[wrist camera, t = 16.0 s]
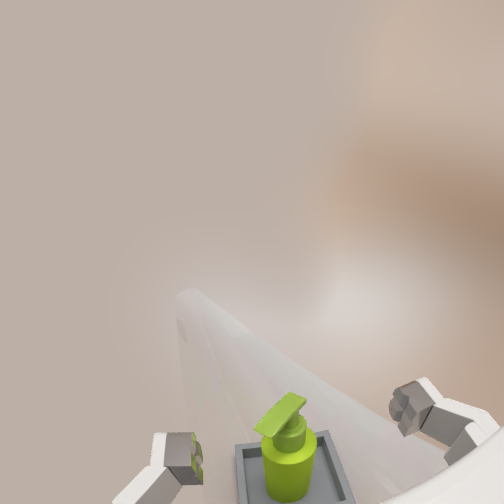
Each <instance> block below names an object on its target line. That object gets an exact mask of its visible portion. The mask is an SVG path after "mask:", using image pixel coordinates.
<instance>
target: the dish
mask: <svg viewBox="0 0 504 504" xmlns="http://www.w3.org/2000/svg"><path fill="white" fill-rule="evenodd" d="M314 434H315V436H316V439H317V447H316V453H315V458H314V464H313V469H312V475H311V480H310V485H309V489H308V492H307V494H306V495H305V496H304V497H303V498H302V499H300V500H298V501H296V502H292V503H281V502H278V501H275V500H274V499H272V498H271V497H270V496H269V494H268V493H267V489H266V481H265V473H264V465H263V458H262V450H261V442H257V443H248V444H237V445H235V454H236V468H237V481H238V493H239V504H356V502H355V499H354V496H353V494H352V491H351V488H350V486H349V483H348V480H347V478H346V475H345V473H344V470H343V467H342V465H341V462H340V459H339V457H338V454H337V452H336V449H335V446H334V444H333V441H332V439H331V436H330V433H329V431H328V430H325V431H321V432H316V433H314Z"/></svg>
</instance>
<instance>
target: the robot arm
mask: <svg viewBox="0 0 504 504" xmlns="http://www.w3.org/2000/svg"><path fill="white" fill-rule="evenodd" d="M393 396H394V398H393V399H392V400H391V401H390V404H389V412H390V415H391V417H392V418H393V420H395V421H397V422H398V428H399V430H400V431H401V433H402V435H403V436H404V437H406V436H408V435H410V434H412V433H415V432H417V431H419V430H420V431H421V432H423V433H424V434H426V435H428V436H430V437H432V438H434V439H436V440H437V441H440V442H441V443H443V444H445V445H447V446H449V447H450V448H449V450H448V451H447V452H446V453H445V455H444V458H445V460H446V462H447V463H448V465H449V467H447V468H446V469H444V470H443V471H441V472H439V473H438V474H436V475H434V476H433V477H431V478H429V479H427V480H426V481H424V482H422V483H420V484H418V485H416V486H414V487H413V488H411V489H409V490H407V491H405V492H403V493H400V494H398V495H396V496H394V497H392V498H390V499H387V500H385V501H383V502H380V503H378V504H504V425H503V426H502V427H501V428H500V427H499V425H498V424H497V423H496V422H495V421H494V419H493V418H492V417H491V416H490V415H489V414H488V412H486V411H485V410H482V409H479V408H475V407H473V406H469V405H467V404H464V403H461V402H457V401H454V400H452V399H449V398H446V399H444V398H443V396H442V395H441V394H440V393H439V392H438V391H437V389H436V388H435V387H434V386H433V385H432V383H431V382H430V381H429V380H428V379H427V378H426V377H422V378H420V379H418V380H415V381H412V382H410V383H408V384H406V385H403V386H401V387H398V388H397V389H395V390H394V392H393ZM202 463H203V456H202V450H201V446H200V444H199V442H197V441H196V435H195V434H194V432H185V433H184V432H183V433H155V435H154V437H153V445H152V453H151V460H150V466H146V467H145V468H144V469H143V470H142V471H141V472H140V473H139V474H138V475H137V476H136V478H134V480H132V481H131V482H130V483H129V484H128V485H127V486H126V488H124V490H123V491H122V492H121V493H119V495H117V497H115V498H114V499H113V502H112V504H171V502H172V501H173V499H174V498H175V497H176V495H177V494H178V492H179V491H180V489H181V488H182V485H203V470H202V469H201V467H200V465H201V464H202Z"/></svg>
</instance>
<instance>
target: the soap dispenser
mask: <svg viewBox="0 0 504 504" xmlns="http://www.w3.org/2000/svg"><path fill="white" fill-rule="evenodd" d="M305 403H306V398H303V397H301V396H299V395H296V394H294V393H291V392H288V393H287V394H286V395H285V396H284V397H283V398H282V399H281V400H280V401H279V402H278V403H276V404H275V405H274V406H273V407H272V408H271V409H270V410H269V411H268V413H267V414H266V415H265V416H264V417H263V418H262V419H261V420H260V422H259V423H258V424H257V425H256V427H255V428H254V430H255V431H257V432H258V433H260V434H262V435H264V436H263V438H262V441H261V450H262V458H263V465H264V473H265V481H266V489H267V493H268V494H269V496H270V497H271V498H272V499H274V500H275V501H278V502H281V503H292V502H296V501H298V500H300V499H302V498H303V497H304V496H305V495H306V494H307V492H308V489H309V485H310V480H311V475H312V469H313V464H314V458H315V453H316V447H317V439H316V436H315V434H314V433H313V431H312V430H310V429H309V428H308V427H307V423H306V420H305V419H304V417H302V416H301V415H299V410H300V409H301V408H302V406H303V405H304V404H305Z"/></svg>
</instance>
